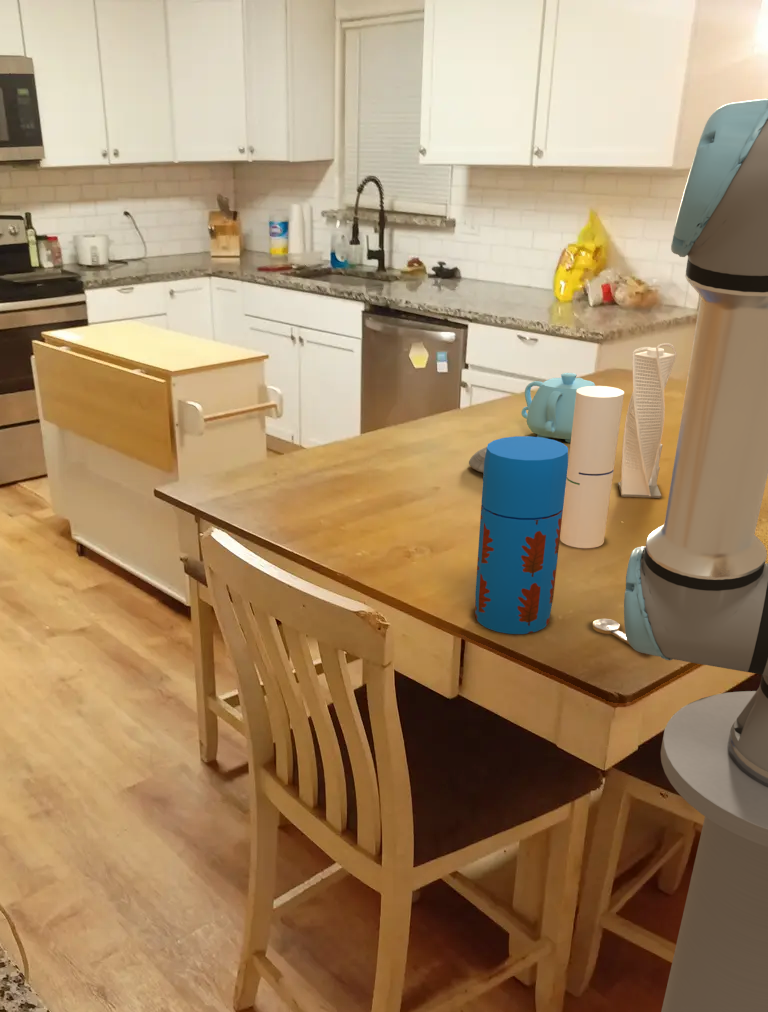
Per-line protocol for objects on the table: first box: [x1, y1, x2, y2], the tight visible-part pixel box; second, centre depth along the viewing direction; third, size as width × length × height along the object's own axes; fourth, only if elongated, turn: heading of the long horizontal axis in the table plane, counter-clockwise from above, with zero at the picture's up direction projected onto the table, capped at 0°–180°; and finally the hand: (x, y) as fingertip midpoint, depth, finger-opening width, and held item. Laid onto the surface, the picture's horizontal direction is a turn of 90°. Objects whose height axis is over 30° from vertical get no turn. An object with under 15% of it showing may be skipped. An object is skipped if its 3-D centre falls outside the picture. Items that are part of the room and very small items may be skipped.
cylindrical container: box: [560, 385, 625, 549], centre depth 154 cm, size 7×7×25 cm
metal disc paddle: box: [592, 618, 646, 655], centre depth 130 cm, size 10×4×1 cm, turn 25°
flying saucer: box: [468, 446, 487, 474], centre depth 191 cm, size 15×15×6 cm
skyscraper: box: [617, 342, 678, 499], centre depth 172 cm, size 8×8×28 cm
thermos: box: [474, 435, 569, 635], centre depth 130 cm, size 11×11×25 cm
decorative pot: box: [521, 372, 596, 444], centre depth 209 cm, size 16×16×14 cm
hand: (735, 424), depth 132 cm, fingers closed
